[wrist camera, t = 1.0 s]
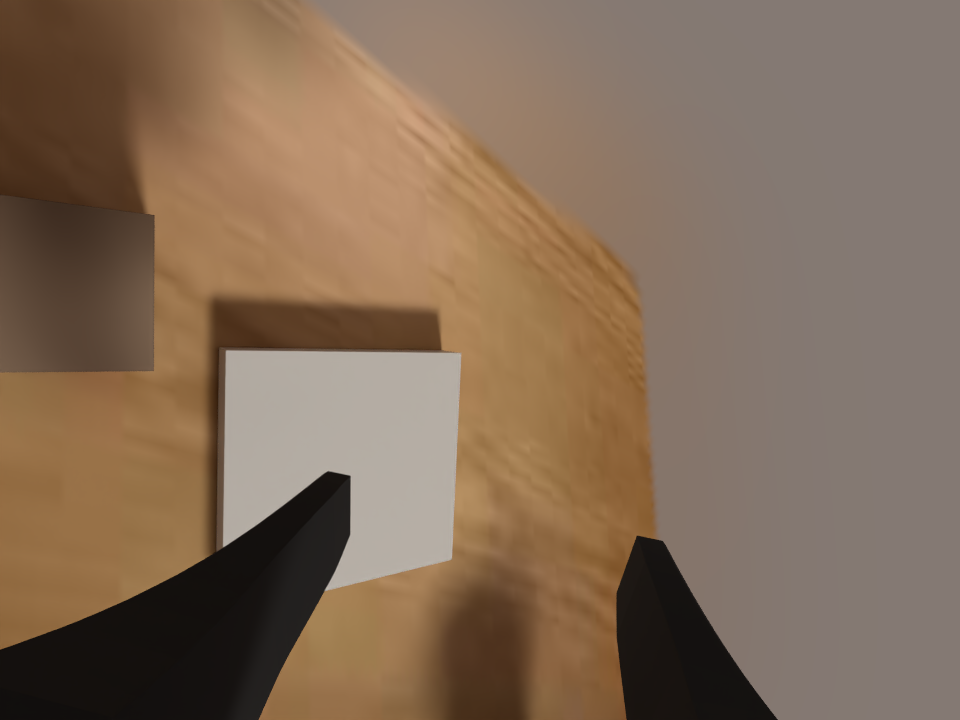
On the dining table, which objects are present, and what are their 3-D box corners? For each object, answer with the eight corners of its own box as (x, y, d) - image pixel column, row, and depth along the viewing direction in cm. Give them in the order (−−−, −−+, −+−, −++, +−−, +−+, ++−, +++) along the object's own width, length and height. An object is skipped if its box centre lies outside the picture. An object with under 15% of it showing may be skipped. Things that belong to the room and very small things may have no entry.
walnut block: (-19, 358, 18) (-64, 373, 14) (-21, 213, 18) (-69, 185, 14) (149, 358, 21) (153, 371, 17) (150, 233, 21) (154, 215, 16)
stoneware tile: (215, 594, 23) (222, 616, 21) (219, 347, 22) (226, 350, 21) (433, 545, 29) (451, 559, 27) (442, 350, 28) (461, 353, 27)
